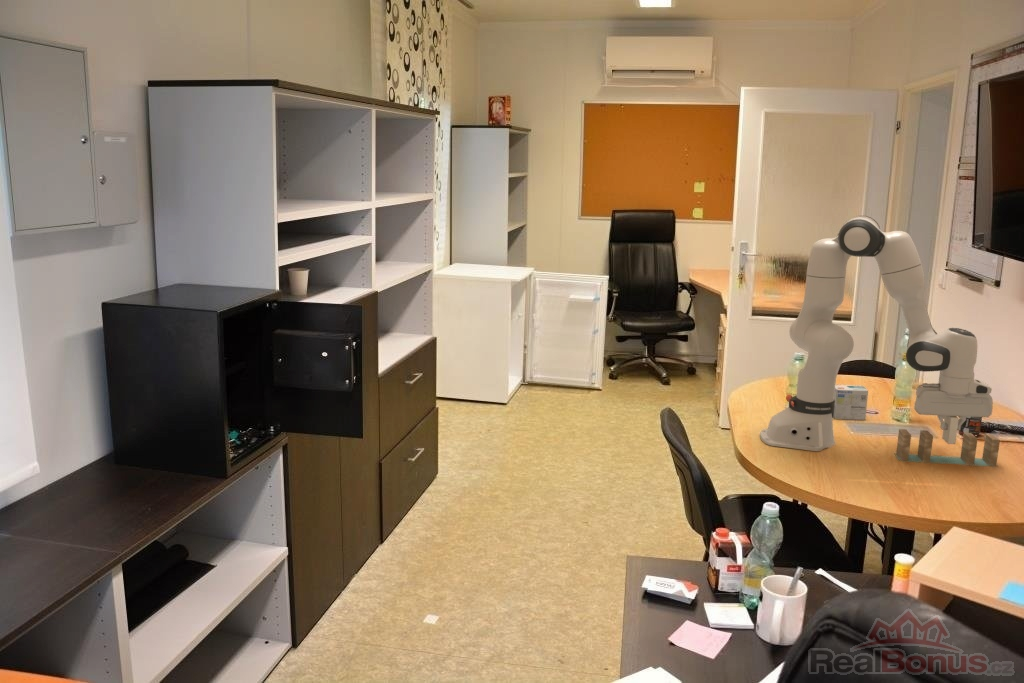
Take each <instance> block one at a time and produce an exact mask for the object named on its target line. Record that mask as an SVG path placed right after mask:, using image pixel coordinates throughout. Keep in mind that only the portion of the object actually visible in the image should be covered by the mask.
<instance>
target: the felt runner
mask: <svg viewBox="0 0 1024 683" xmlns="http://www.w3.org/2000/svg"><path fill="white" fill-rule="evenodd" d="M893 454H894V456H895V457H896V459H897V460H899V461H900V462H906V461H905V460H900V458H899V457H898V456H897V455H896V452H895V453H894V452H893ZM960 457H961V456H948V455H947V456H943V455H931V458H930V462H929V463H930V464H931V463H933V464H948V465H961V466H962V465H963V466H964V465H965V466H972V465H971V464H966V463H965V462H964V461H963V460H962V459H961V458H960ZM907 462H917V463H924V462H923V461H922V460H921V459H920V458H919V457H918V456H917V454H912V453H911V454H910V453H909V458H908V461H907ZM973 466H978V467H979V466H981V467H984V466H985V467H990V466H989V465H988V464H987V463H985V462H984V461H983V460H982V458H980V457H979V458H977V457H975V461H974V465H973ZM995 467H998V468H999V466H998V465H996V466H994V468H995Z"/></svg>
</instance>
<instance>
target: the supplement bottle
mask: <svg viewBox="0 0 1024 683" xmlns="http://www.w3.org/2000/svg"><path fill="white" fill-rule="evenodd" d="M982 419H983V417H966V420H965V422H964V423H963V424H962V425H961V429H960V431H958V433H959V434H961V435H962V434H964V433H972V434H973V435H974V436H975V435H979V436H980V434H981V429H982V428H981V426H982V421H983V420H982Z"/></svg>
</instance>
